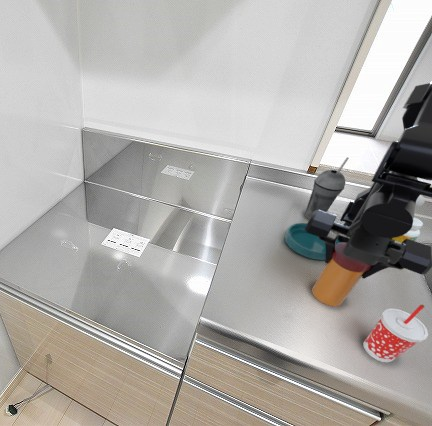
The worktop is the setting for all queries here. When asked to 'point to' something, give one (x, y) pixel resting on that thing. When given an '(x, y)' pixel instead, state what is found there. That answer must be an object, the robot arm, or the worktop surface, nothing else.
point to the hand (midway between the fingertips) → (344, 269)
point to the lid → (348, 259)
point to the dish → (305, 242)
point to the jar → (335, 283)
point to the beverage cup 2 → (395, 334)
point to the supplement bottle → (411, 232)
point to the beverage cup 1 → (325, 190)
